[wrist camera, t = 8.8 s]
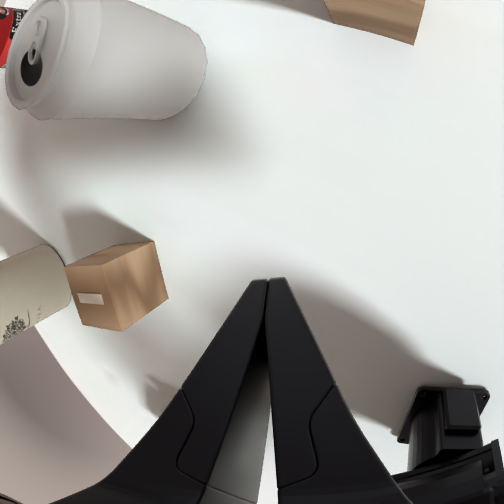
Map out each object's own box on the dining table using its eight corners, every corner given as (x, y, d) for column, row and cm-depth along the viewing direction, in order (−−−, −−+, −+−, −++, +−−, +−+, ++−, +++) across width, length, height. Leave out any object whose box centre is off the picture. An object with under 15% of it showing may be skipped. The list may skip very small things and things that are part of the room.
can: (118, 94, 22) (-12, 90, 12) (163, 15, 19) (36, -28, 8) (177, 139, 22) (30, 150, 11) (234, 51, 18) (98, -11, 8)
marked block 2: (168, 298, 26) (121, 332, 21) (127, 296, 28) (81, 325, 23) (154, 241, 25) (100, 265, 20) (113, 245, 27) (62, 267, 22)
